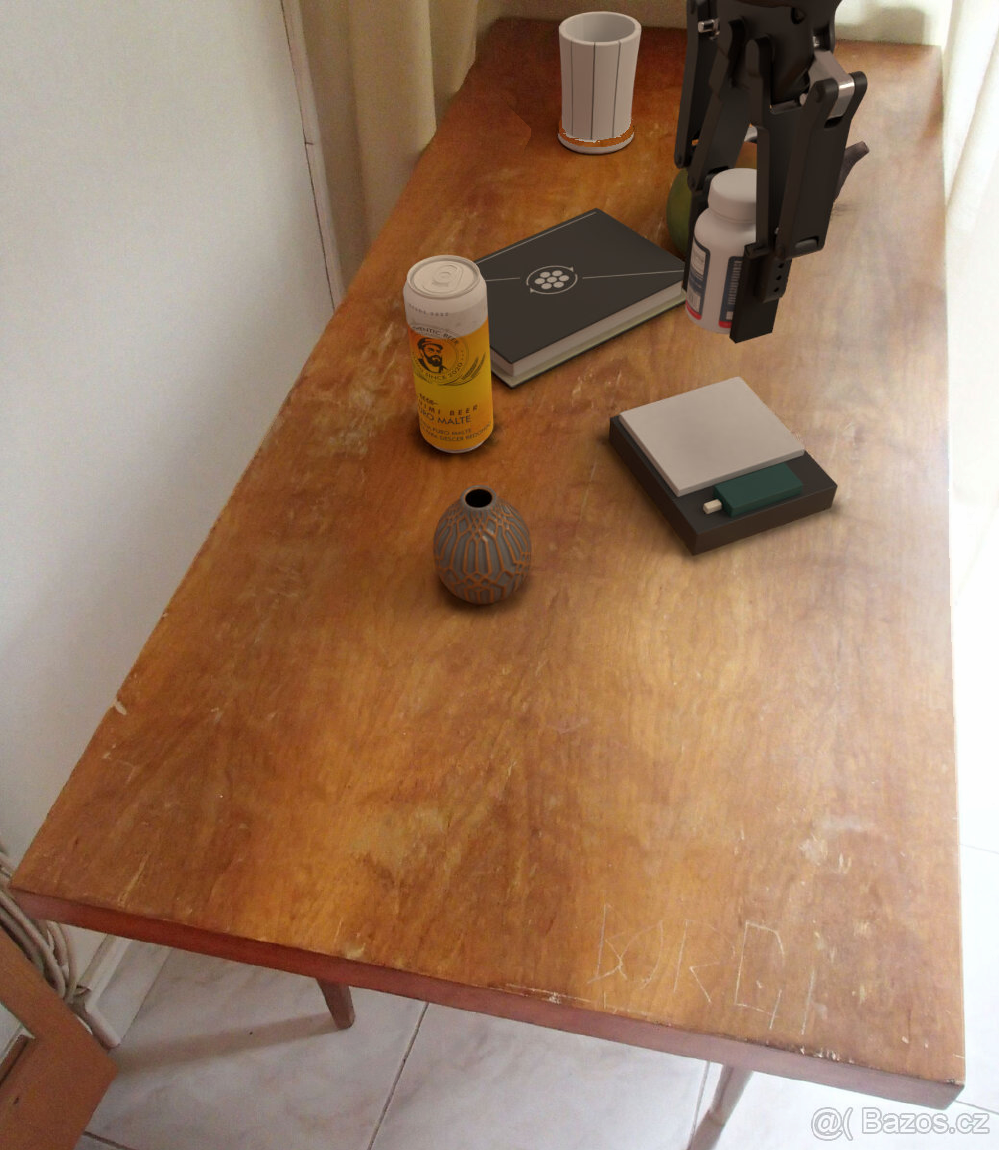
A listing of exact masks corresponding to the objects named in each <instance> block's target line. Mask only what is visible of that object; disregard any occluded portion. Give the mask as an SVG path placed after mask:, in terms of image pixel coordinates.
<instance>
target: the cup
mask: <svg viewBox="0 0 999 1150" xmlns="http://www.w3.org/2000/svg"><path fill="white" fill-rule="evenodd" d="M641 36H642V25H641V23H640V22H639V21H638V20H637V19H635V18H634V17H632V16H630V15H627V14H623V13H619V12H614V11H613V12H612V11H589V12H583V13H578V14H575V15H571V16H570V17H568V18H565V19H564V20H563V21H562V22H561V23H560V25H558V38H559V39H558V40H559V54H560V56H559V57H560V77H561V118H562V128H563V129H564V130H565V132H566V133H563V134H566V136H567V137H569V138H579V139H575V140H579V141H584V142H593V143H595V142H596V141H597V140H604V139H609V138H616V137H621V136H620V135H622V134H623V133H625V132H626V131H627V130H628V129H629V127H630V124H631V119H632V110H633V109H632V107H633V96H634V87H635V78H636V70H637V63H638V57H639V56H638V55H639V49H640V42H641ZM634 134H635V131H634V132H633V134H632V135H631V137H630V138H628V139H627V140H625V141H624V142H621V143H619V144H616V145H612V146H607V147H585V146H578V145H575V144H572V143H569V142H568V141H566V140H564V139H563V138H562V137H561V136H560V134H559V133H558V132H557V138H558V140H559V141H560V143H561V144H562V145H563V146H565V147H566V148H568V149H569V150H571V151H574V152H577V153H580V154H586V155H604V154H609V153H615V152H616V151H619V150H621V149H623V148H624V147H626V146H627V145H628V144H629V143H631V141H632V140H633V138H634V136H635V135H634ZM598 142H600V141H598Z"/></svg>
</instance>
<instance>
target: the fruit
mask: <svg viewBox="0 0 999 1150" xmlns="http://www.w3.org/2000/svg"><path fill="white" fill-rule="evenodd" d="M735 168H749V169H755V170H756V169H757V144H755V143H752V142H747V141H744V142H743V145H742V148H741V151H740V154H739V157H738V160H737V162H736V165H735ZM687 176H688V172H687V171H686V169H685V168H682V169H679V171H678V172H677V174H676V175H675V178H674V179H673V181H672V183H671V186H670V189H669V192H668V196H667V200H666V204H665V205H666V206H665V220H666V227H667V230H668V233H669V236H670V238H671V241H672V242H673V245H674V246H675V247H676V248H677V250H678V251H679V252H680V253H681V254H682V255H683V256H685V257H686V251H687V243H688V235H689V230H688V221H689V213H690V204H691V196H692V192H691V191H690V189H689V187H688V184H687Z"/></svg>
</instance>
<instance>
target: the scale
mask: <svg viewBox="0 0 999 1150" xmlns="http://www.w3.org/2000/svg"><path fill="white" fill-rule="evenodd" d="M608 427H609V428H608V441H609V443H610V444H611V445H612V446H613V448H614V449H615V451H616V452H617V453H618V455H619V456H620V457H621V459H622V460H623V462H624V463H625V464H626V465H627V467H628V469H630V471H631V472H632V474H633V475H634V476H635V478H636V479H637V480H638V482H639V483H640V485H641V486H642V487H643V489H644V490H645V491H646V493H647V494H648V495H649V497H650V498H651V499H652V501H653V503H654V504H655V505H656V507H657V508H658V509H659V510H660V512H661V514H662V515H663V516H664V517H665V519H666V520H667V522H668V523H669V524H670V526H671V527H672V528H673V530H674V531H675V532H676V534H677V535H678V536H679V538H680V539H681V541H682V542H683V543H684V544H685V546H686V547H687V549H688V550H689V552H690V553H691V554H692V555H693V556H696V555H699V554H703V553H705V552H708V551H711V550H714V549H716V548H720V547H723V546H725V545H728V544H730V543H734V542H736V541H739V540H742V539H745V538H749V537H750V536H754V535H756V534H759V533H762V532H765V531H768V530H771V529H774V528H777V527H780V526H782V525H785V524H787V523H791V522H794V521H796V520H799V519H802V518H805V517H808V516H810V515H813V514H816V513H819V512H823V511H825V510H828V509H831V508H832V505H833V502H834V500H835V496H836V493H837V490H838V487H839V486H838V484H837V483H836V481H835V480H833V479H832V477H831V476H830V475H829V474H828V472H826V470H824V469H823V467H821V466H820V464H819V463H818V462H817V461H816V460H815V459H814V457H813V456H811V454H810V453H809V451H807V450H806V446H804V444H802V442H801V441H800V440H799V439H798V438H797V437H796V436H795V435H794V434H793V433H792V432H791V431H790V429H788V427H787V426H786V425H785V424H784V423H783V422H782V420H780V418H779V417H777V415H776V414H775V413H774V412H773V411H772V410H771V409H770V408H769V407H768V405H766V404H765V402H764V401H763V400H762V399H761V398H760V397H759V396H758V395H757V394H756V392H754V391H753V389H752V388H751V387H750V386H749V385H748V384H747V383H746V382H745V381H744V379H742V377H741V376H739V375H737V376H734V377H732V378H728V379H724V380H721V381H718V382H714V383H711V384H709V385H705V386H701V387H699V388H695V389H692V390H689V391H685V392H683V393H678V394H675V395H673V396H669V397H666V398H663V399H660V400H657V401H654V402H650V403H647V404H644V405H641V406H637V407H634V408H631V409H626V410H624V411H621V412H619V414H617V415H614V416H611V417H609V426H608Z"/></svg>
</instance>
